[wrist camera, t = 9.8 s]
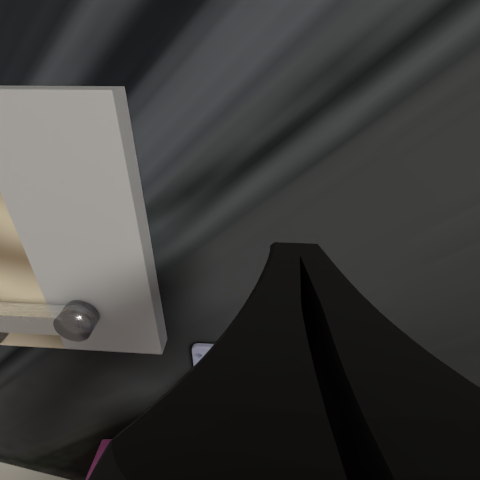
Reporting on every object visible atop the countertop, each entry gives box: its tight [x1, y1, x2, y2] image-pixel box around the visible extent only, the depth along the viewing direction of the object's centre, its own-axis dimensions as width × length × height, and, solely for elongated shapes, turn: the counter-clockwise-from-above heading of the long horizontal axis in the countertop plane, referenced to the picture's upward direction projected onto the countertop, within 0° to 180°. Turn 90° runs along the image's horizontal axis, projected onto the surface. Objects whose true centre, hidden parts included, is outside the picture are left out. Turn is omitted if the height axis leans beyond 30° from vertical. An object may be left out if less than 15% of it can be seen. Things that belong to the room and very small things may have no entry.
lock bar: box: [0, 300, 100, 342], centre depth 22 cm, size 12×2×1 cm, turn 90°
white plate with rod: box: [0, 86, 167, 354], centre depth 20 cm, size 18×8×2 cm, turn 0°
